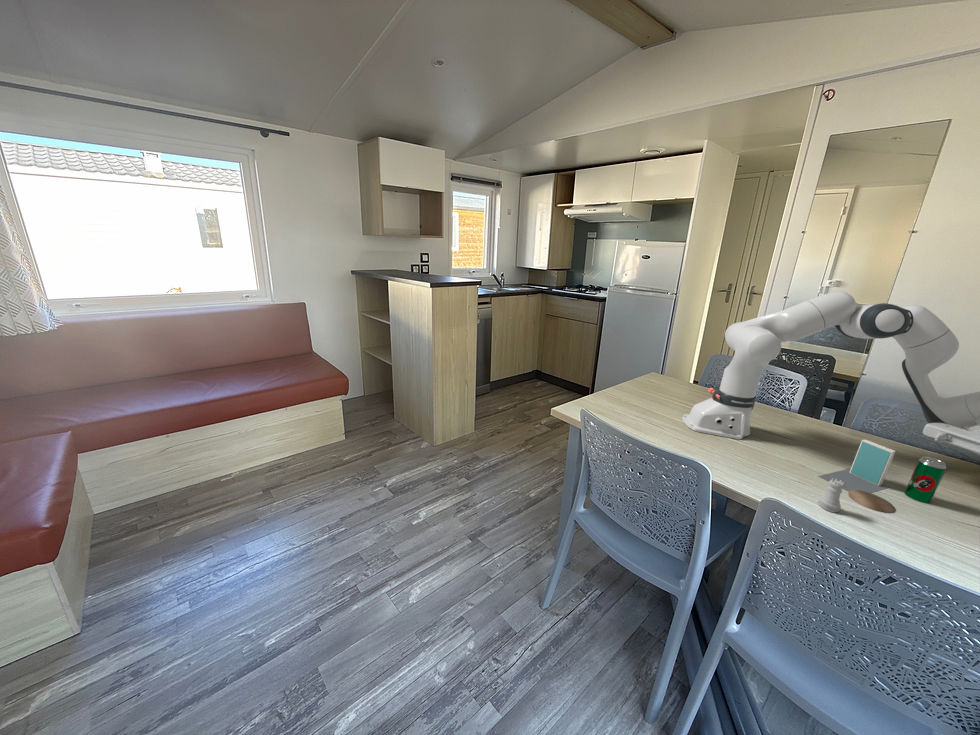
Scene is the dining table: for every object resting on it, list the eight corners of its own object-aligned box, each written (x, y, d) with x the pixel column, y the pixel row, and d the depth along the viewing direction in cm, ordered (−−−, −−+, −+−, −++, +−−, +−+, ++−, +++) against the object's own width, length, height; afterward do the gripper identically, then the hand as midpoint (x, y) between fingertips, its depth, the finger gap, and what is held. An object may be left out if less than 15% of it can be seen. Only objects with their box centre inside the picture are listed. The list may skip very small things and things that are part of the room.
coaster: (863, 511, 98) (864, 508, 98) (839, 490, 107) (840, 488, 106) (903, 516, 97) (904, 514, 96) (875, 495, 105) (877, 492, 105)
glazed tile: (852, 471, 116) (865, 439, 112) (881, 484, 109) (895, 451, 106) (849, 472, 115) (861, 440, 112) (877, 485, 109) (892, 452, 105)
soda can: (935, 506, 102) (954, 467, 98) (913, 502, 103) (931, 464, 99) (919, 494, 106) (936, 457, 103) (898, 491, 107) (914, 454, 104)
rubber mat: (848, 469, 117) (849, 468, 117) (889, 488, 108) (890, 487, 108) (817, 477, 112) (817, 476, 112) (857, 498, 103) (858, 496, 103)
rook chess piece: (812, 502, 101) (822, 476, 98) (827, 501, 101) (837, 476, 99) (828, 513, 97) (838, 486, 94) (844, 513, 97) (854, 486, 95)
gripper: (941, 415, 117) (916, 420, 113) (1051, 447, 99) (1026, 455, 94) (933, 433, 119) (908, 439, 114) (1039, 468, 101) (1015, 477, 96)
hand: (962, 447), depth 104 cm, fingers open, 8 cm apart
